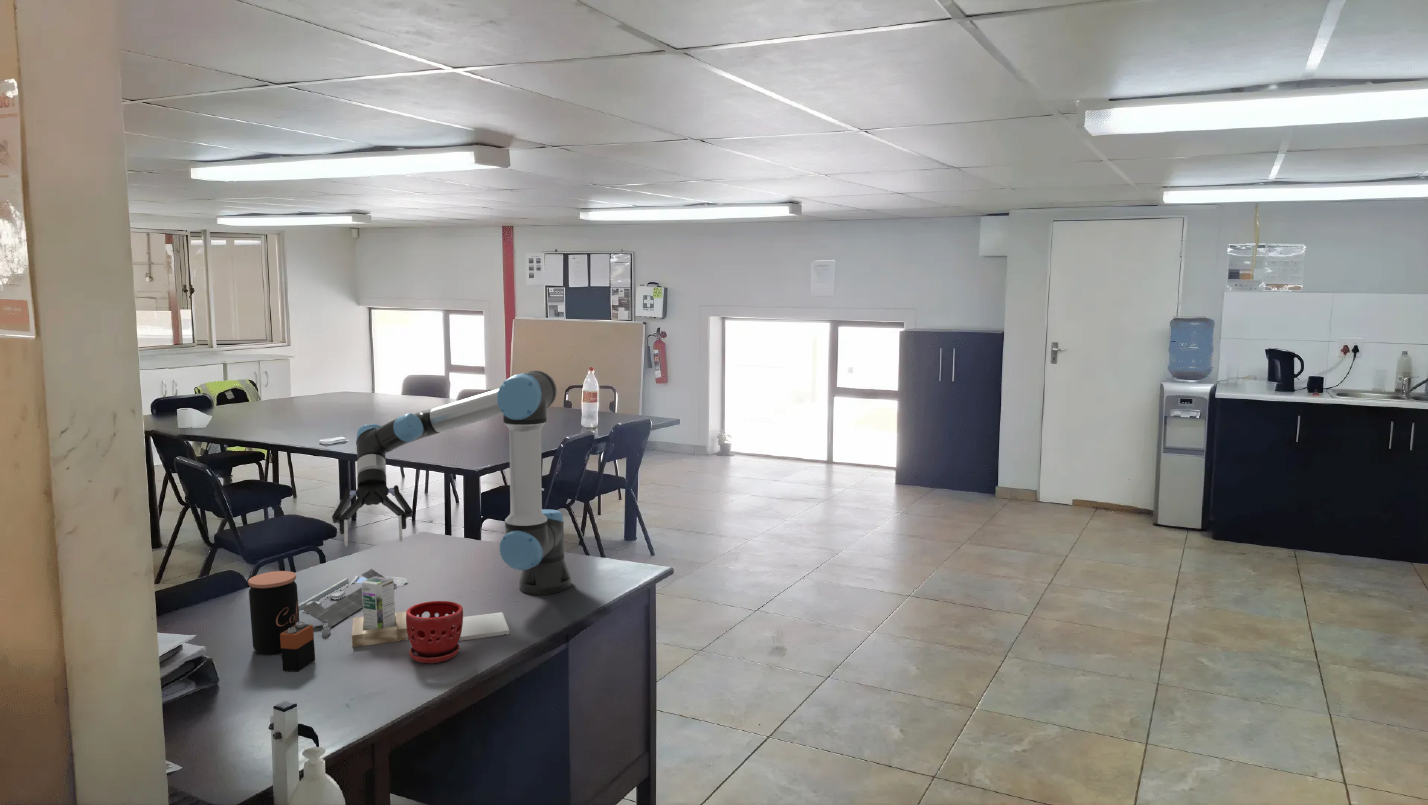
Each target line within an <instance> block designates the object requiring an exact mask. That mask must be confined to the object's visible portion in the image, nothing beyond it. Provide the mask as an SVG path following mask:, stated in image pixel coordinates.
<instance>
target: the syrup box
mask: <svg viewBox="0 0 1428 805" xmlns="http://www.w3.org/2000/svg"><path fill="white" fill-rule="evenodd" d="M384 577H385V576H384ZM384 577H377V576H376V577H372V578H369V579H367V580H365V581H363V582H362V584H361V587H362V599H363V607H362V614H363V616H362V617H364V630H372V629H379V628H387V627H395V626H396V622H395V613H396V605H395V587H394V580H393V578H384Z"/></svg>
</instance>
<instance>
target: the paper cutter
mask: <svg viewBox="0 0 1428 805" xmlns="http://www.w3.org/2000/svg"><path fill="white" fill-rule="evenodd" d="M376 576H377V577H384V578H393V580H394V588H395V587H404V586H405V584H406V583H407V581H408V579H407V578H405V577H399V576H398V577H397V576H383V574H380V573H379V572H378V571H375V570H374V569H372V568H371V569H369V570H367V571H365V572H364V573H361V577H360V576H359V575H355V576H354V577H353V578H352V579H351V580H350V581H349V578H348V577H345V578H343V579H342V580H340V581H339V582H337V583H335V584H332V585H331V586H329V587H328V588H325V589H324V590H322V591H320V592H319V593H316V594H314V595H312V596H311V597H309V598H308V599H306V600H304V601H302V602H301V603H298V608H299V611H300V610H304V611H305V612H304V613H306V614H309V616H312V617H313V618H315V619H317V620H318V621H319V622H321V623H322V624H324V625H323V626H322V630H321V637H327V636H329V635H330V634H331V632H332V631H331V628H332V627H334V626H335V625H337V624H338V623H340V622H342V621H343V620H344V619H346V618H348V617H350V616H351V615H353V614H354V613H355V612H357V611H358V610H360V609H363V599H362V586H361V587H359V588H358V589H357V590H355V591H353V592H351V593H349V594H348V595H347V594H346V591H344V590H342V591H336V592H334V591H335V590H338V589H339V588H341V587H343V586H345V585H346V584H349V583H351V584H352V583H355V582H357V583H361V584H360V585H362V582H363V581H365V580H367V579H369V578H372V577H376ZM332 592H334V593H333V594H331V595H330V598H338V599H339V598H341V597H343V596H344V595H346V596H345V597H343V598H341V599H340V600H337V601H336V602H335V603H333V604H331V605H329V606H328V607H326V608H325V607H324V606H323V602H316V601H319V600H320V599H321V598H323V597H325V596H326V595H328V594H330V593H332ZM330 598H329V599H330ZM329 633H330V634H329Z"/></svg>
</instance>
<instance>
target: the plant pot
mask: <svg viewBox="0 0 1428 805" xmlns="http://www.w3.org/2000/svg"><path fill="white" fill-rule="evenodd" d="M424 613H428V614H429V617H423V614H424ZM436 614H437V615H438V616H436ZM463 617H464V608H463V606H462V605H461V604H460V603H457V602H454V601H449V600H448V601H447V600H434V601H433V600H432V601H425V602H420V603H417V604H414V605H412V606H410V607H409V608H408V609H407V610H406V627H407V634H408V641H409V643H410V645H411V647H410V649H409V650H408V654H409V656H410V658H411V659H412V660H414V661H415V662H418V663H423V664H437V663H442V662H445V661H448V660H451V659H453V658H454V657H455V656H456V655H457V654H458V653H459V651H460V648H461V647H460V645H459V643H458V642H460V641H459V639H460V636H461V632H462V625H463Z"/></svg>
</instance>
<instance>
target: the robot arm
mask: <svg viewBox="0 0 1428 805" xmlns="http://www.w3.org/2000/svg"><path fill="white" fill-rule="evenodd" d="M557 388H558V387H557V384H556V381H554V379H553V378H552V376H550V375H549V374H548V373H546V372H544V371H541V370H531V371H526V372H523V373H517V374H513V375H512V376H510V377H509V378H506V380H504V381H503V382H502V384H501V385H500V386H499V388H496V389H492V390H488V391H486V392H483V393H479V394H476V395H473V396H470V397H466V398H463V399H460V400H459V399H458V400H456V401H452V402H450V403H446V404H442V405H438V406H437V407H433V408H430V409H426V410H422V411H419V412H416V413H411V412H408V413H405V414H403V415H400V416H397V417H396V418H395V419H393V420H391V421H389V422H387V423H385V424H383V425H379V424H377V423H370V424H363V425H362V426H360V427H359V428H358V430H357V432H356V440H355V445H356V456H357V458H356V475H357V476H356V477H357V482H356V483H357V486H356V487H357V489H356V490H351V489H350V488H345V491H344V495H343V498H342V499H341V501H340V503H339V504H338V506H337V507H336V509H335V511H334V512H333V514H332V516H331V518H332V523H333V524H339V534H340V535H343V537H344V538H343V540H344V541H343V542H344V547H348V546H349V534H348V533H349V528H348V526H349V525H348V521H349V519H350V518H352V517H353V516H354V514H355V513H357V512H358V511H359V509H361V508H362V507H363V506H364V505H366V506H371V505H374V506H375V505H376V506H377V505H380V504H381V505H383V506H384V507H386V508H388V509H389V510H390V511H391V512H392V513H393V514H395V516H397V519H398V538H399V543H401V542H403V530H406V528H407V518H412V517H413V509H412V508H411V506H410V504H409V503H408V501H407V500H406V499H405V497H404V496H403V494H401V492H400V488H399V486H398V485H397V484H395V485H394V486H393V487H388V486H387V484H388V483H387V474H386V473H387V466H386V463H387V461H386V454H388V453H390V452H392V451H394V450H396V449H398V448H401V447H403V446H405V445H406V444H407V445H408V444H409V443H413V442H415V441H418V440H420V439H421V440H422V439H423V438H427V437H431V436H433V435H437V434H440V433H441V434H442V433H444V432H446V431H451V430H454V429H456V428H461V427H464V426H467V425H468V426H469V425H471V424H475V423H477V422H481V421H485V420H488V419H492V418H495V417H499V416H501V415H502V416H503V419H502V420H503V425H504V426H505V427H507V428H508V430H509V431H508V433H509V435H508V436H509V437H508V438H509V493H510V494H509V499H510V500H509V501H510V511H509V514H508V516H507V517H506V518H505V519H504V535H503V537H502V538H501V539H500V542H499V548H498V550H499V555H500V557H501V560H502V561H503V562H504V563H505V564H507V566H508V567H509V568H512V569H514V570H517V571H521V572H520V573H521V574H520V576H519V579H518V580H519V581H518V583H519V584H518V585H519V590H520V591H521V592H523V593H526V594H530V595H551V594H556V593H560V592H563V591H566V590H568V589H570V588H571V586H572V577H571V574H570V571H569V568H568V566H567V563H566V560H565V535H564V534H565V533H564V532H565V529H564V526H565V525H564V524H565V521H564V514H563V513H562V512H561V511H560V510H558V509H557V510H556V509H549V508H548V509H543V504H542V500H543V496H542V482H543V481H542V428H543V427H544V426H545V425H546V424H547V419H548V418H547V415H548V414H547V409H548V408H550V407H551V406H552V405H553V404H554V402H555V401H556V398H557V395H558V394H557V393H558V389H557ZM389 494H391V496H392V497H394V498H395V500H396V501H397V503H398V504H399V505H400V506H399V505H397V504H396V503H395V502H394V501H392V499H390V498H389V496H388V495H389ZM354 496H356V499H355V501H354V502H353V503H352V504H351V505H350V506H349V507H348V505H349V503H350V501H351V500H352V499H353V498H354ZM347 507H348V508H347ZM346 508H347V509H346ZM345 509H346V510H345Z"/></svg>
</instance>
